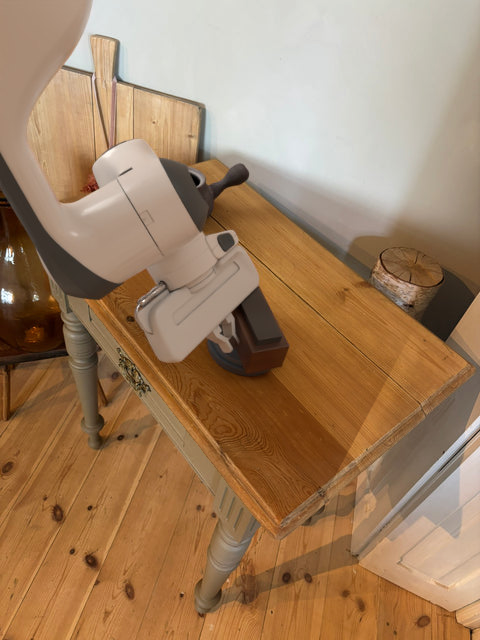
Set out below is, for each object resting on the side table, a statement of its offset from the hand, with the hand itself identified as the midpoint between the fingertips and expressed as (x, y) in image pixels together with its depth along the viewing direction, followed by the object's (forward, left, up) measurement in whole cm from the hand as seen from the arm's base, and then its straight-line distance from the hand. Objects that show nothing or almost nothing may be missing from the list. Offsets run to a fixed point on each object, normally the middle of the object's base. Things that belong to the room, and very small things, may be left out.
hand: (232, 348), depth 66 cm
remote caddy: (0, +5, -3) cm, 6 cm away
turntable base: (0, +5, -5) cm, 7 cm away
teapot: (-26, +28, -5) cm, 39 cm away
